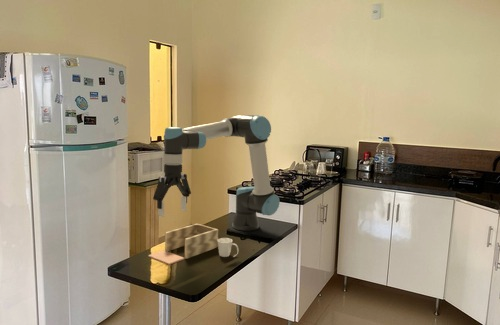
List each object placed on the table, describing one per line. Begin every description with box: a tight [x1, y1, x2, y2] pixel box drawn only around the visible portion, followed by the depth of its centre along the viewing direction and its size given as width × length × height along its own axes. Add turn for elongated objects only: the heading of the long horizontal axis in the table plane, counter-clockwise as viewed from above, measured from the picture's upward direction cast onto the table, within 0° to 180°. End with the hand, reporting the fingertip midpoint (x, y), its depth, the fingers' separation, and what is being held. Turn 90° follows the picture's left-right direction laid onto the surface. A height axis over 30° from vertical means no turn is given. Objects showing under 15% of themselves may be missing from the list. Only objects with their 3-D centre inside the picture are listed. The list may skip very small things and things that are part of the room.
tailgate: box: [147, 249, 186, 266], centre depth 166 cm, size 1×14×9 cm
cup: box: [217, 237, 239, 258], centre depth 171 cm, size 7×10×8 cm
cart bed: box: [164, 223, 219, 260], centre depth 178 cm, size 20×14×10 cm
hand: (172, 213), depth 166 cm, fingers open, 12 cm apart
